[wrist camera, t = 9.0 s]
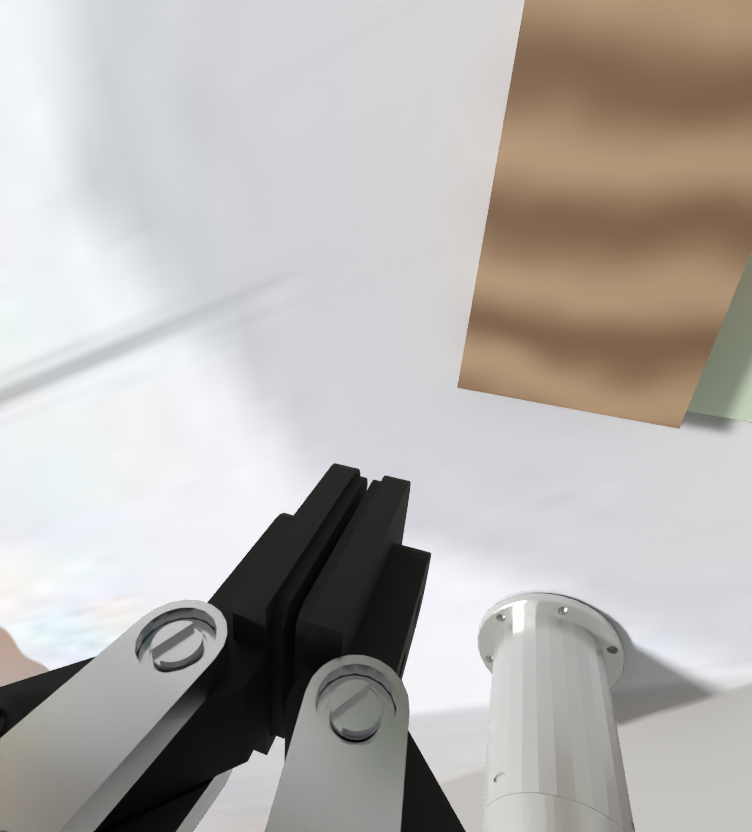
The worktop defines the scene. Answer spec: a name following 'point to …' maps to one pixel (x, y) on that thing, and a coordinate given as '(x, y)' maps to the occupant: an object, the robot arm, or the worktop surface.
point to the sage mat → (730, 361)
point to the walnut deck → (616, 206)
